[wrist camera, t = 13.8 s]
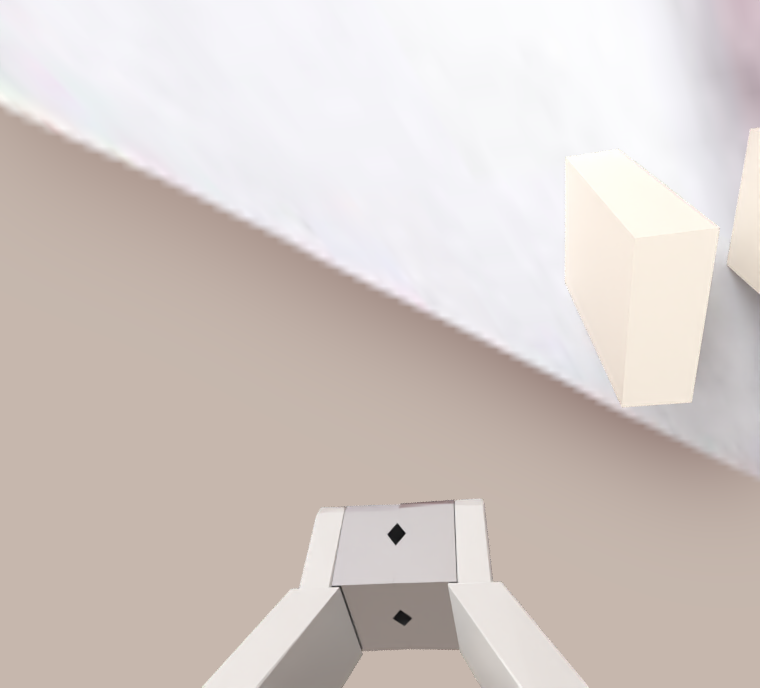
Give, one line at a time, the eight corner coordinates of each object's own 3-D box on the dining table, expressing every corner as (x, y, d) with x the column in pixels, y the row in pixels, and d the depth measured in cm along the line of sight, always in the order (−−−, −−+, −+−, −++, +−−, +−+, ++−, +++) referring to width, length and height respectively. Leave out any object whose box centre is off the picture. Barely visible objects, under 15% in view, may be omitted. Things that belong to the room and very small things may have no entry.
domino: (618, 148, 19) (720, 227, 12) (611, 277, 21) (691, 402, 14) (565, 157, 19) (635, 238, 12) (565, 283, 22) (621, 407, 15)
